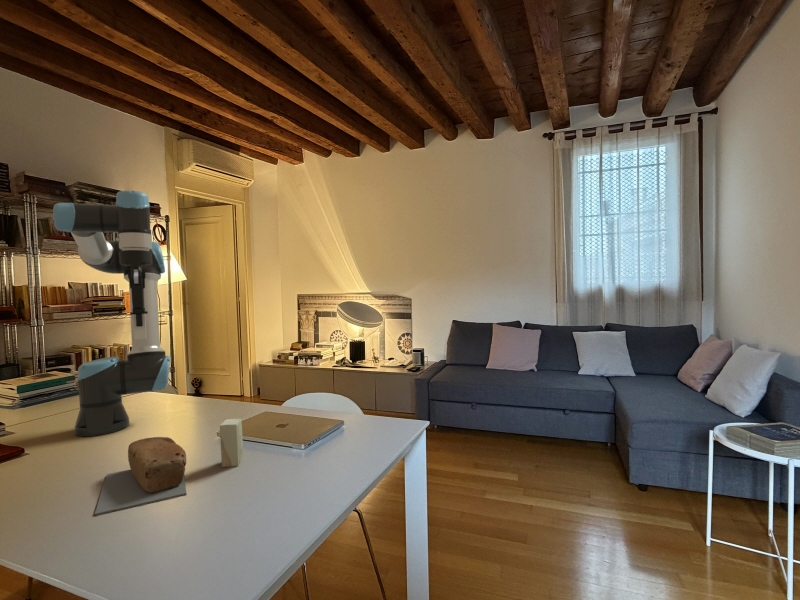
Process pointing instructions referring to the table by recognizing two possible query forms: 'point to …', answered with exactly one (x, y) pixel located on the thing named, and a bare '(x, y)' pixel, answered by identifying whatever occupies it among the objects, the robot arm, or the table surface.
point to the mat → (131, 493)
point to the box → (231, 442)
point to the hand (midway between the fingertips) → (140, 338)
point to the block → (157, 463)
